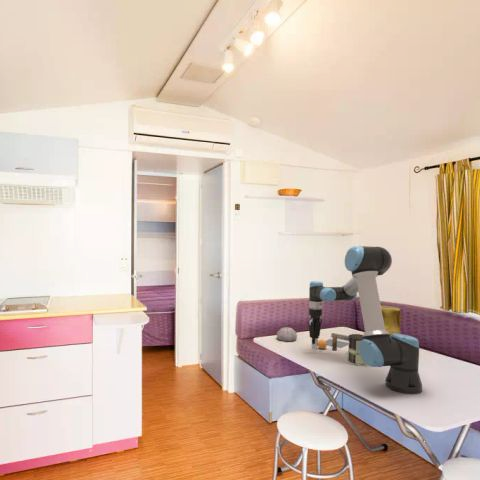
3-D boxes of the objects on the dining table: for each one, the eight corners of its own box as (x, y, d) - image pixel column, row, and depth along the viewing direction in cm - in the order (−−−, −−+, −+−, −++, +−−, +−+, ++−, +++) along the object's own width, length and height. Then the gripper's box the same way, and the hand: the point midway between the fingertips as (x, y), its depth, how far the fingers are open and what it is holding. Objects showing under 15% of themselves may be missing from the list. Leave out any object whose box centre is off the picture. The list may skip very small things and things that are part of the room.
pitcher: (366, 341, 248) (370, 303, 247) (396, 344, 247) (399, 305, 246) (374, 350, 231) (378, 309, 230) (406, 353, 230) (410, 311, 229)
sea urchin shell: (276, 342, 244) (276, 329, 244) (276, 336, 257) (276, 324, 257) (297, 343, 243) (298, 330, 243) (296, 337, 256) (296, 325, 256)
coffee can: (345, 363, 204) (346, 336, 204) (350, 358, 213) (351, 333, 213) (365, 367, 199) (366, 339, 199) (369, 362, 208) (370, 335, 208)
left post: (316, 346, 235) (316, 331, 235) (312, 345, 237) (312, 331, 236) (318, 345, 237) (318, 331, 237) (314, 345, 239) (314, 330, 238)
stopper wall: (357, 342, 248) (357, 338, 248) (331, 337, 259) (331, 333, 259) (358, 341, 249) (358, 337, 249) (332, 336, 261) (332, 332, 261)
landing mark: (340, 347, 234) (340, 347, 234) (319, 343, 243) (319, 343, 243) (350, 343, 244) (350, 343, 244) (329, 339, 253) (329, 339, 253)
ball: (328, 348, 232) (324, 351, 227) (320, 345, 235) (315, 348, 231) (328, 339, 231) (324, 342, 227) (320, 337, 234) (315, 340, 230)
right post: (335, 351, 227) (336, 335, 227) (331, 350, 229) (331, 334, 228) (337, 350, 229) (337, 334, 229) (333, 349, 231) (333, 334, 230)
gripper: (315, 310, 215) (314, 352, 215) (326, 307, 225) (325, 348, 225) (304, 308, 220) (302, 350, 220) (315, 306, 230) (314, 345, 230)
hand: (314, 349), depth 223 cm, fingers closed
